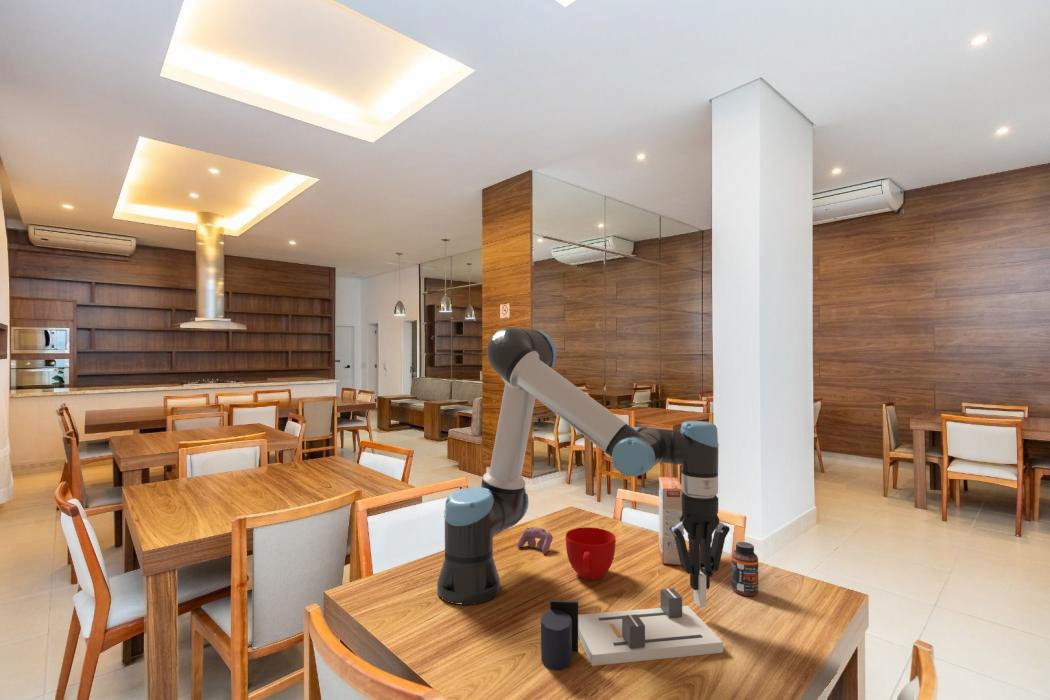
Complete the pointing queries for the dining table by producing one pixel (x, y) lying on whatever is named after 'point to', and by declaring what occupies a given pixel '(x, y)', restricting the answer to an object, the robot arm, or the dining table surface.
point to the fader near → (633, 631)
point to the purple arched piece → (534, 533)
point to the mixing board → (646, 636)
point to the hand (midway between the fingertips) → (699, 603)
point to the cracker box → (669, 518)
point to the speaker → (559, 634)
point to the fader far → (671, 603)
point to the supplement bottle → (744, 570)
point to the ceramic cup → (590, 551)
